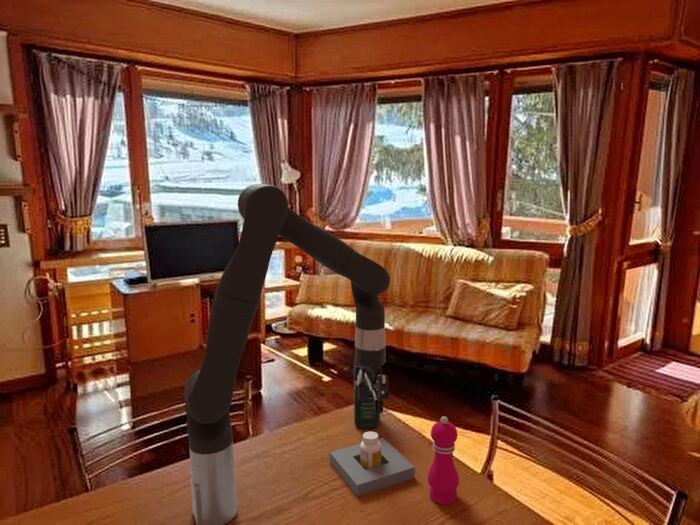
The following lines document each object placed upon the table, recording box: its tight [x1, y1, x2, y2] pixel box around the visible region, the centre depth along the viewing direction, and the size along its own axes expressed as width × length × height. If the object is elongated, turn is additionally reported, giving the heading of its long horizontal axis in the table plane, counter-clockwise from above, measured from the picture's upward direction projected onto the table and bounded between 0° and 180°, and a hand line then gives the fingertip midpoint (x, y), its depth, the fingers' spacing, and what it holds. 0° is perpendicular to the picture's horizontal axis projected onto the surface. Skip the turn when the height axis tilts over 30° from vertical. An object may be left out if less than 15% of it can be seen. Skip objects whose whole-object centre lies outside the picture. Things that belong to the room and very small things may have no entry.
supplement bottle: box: [359, 431, 381, 470], centre depth 129 cm, size 5×5×10 cm
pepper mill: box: [427, 416, 460, 505], centre depth 117 cm, size 7×7×20 cm
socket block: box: [329, 437, 416, 498], centre depth 130 cm, size 16×16×3 cm
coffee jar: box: [353, 372, 381, 430], centre depth 153 cm, size 10×8×19 cm
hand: (370, 406), depth 127 cm, fingers open, 8 cm apart
